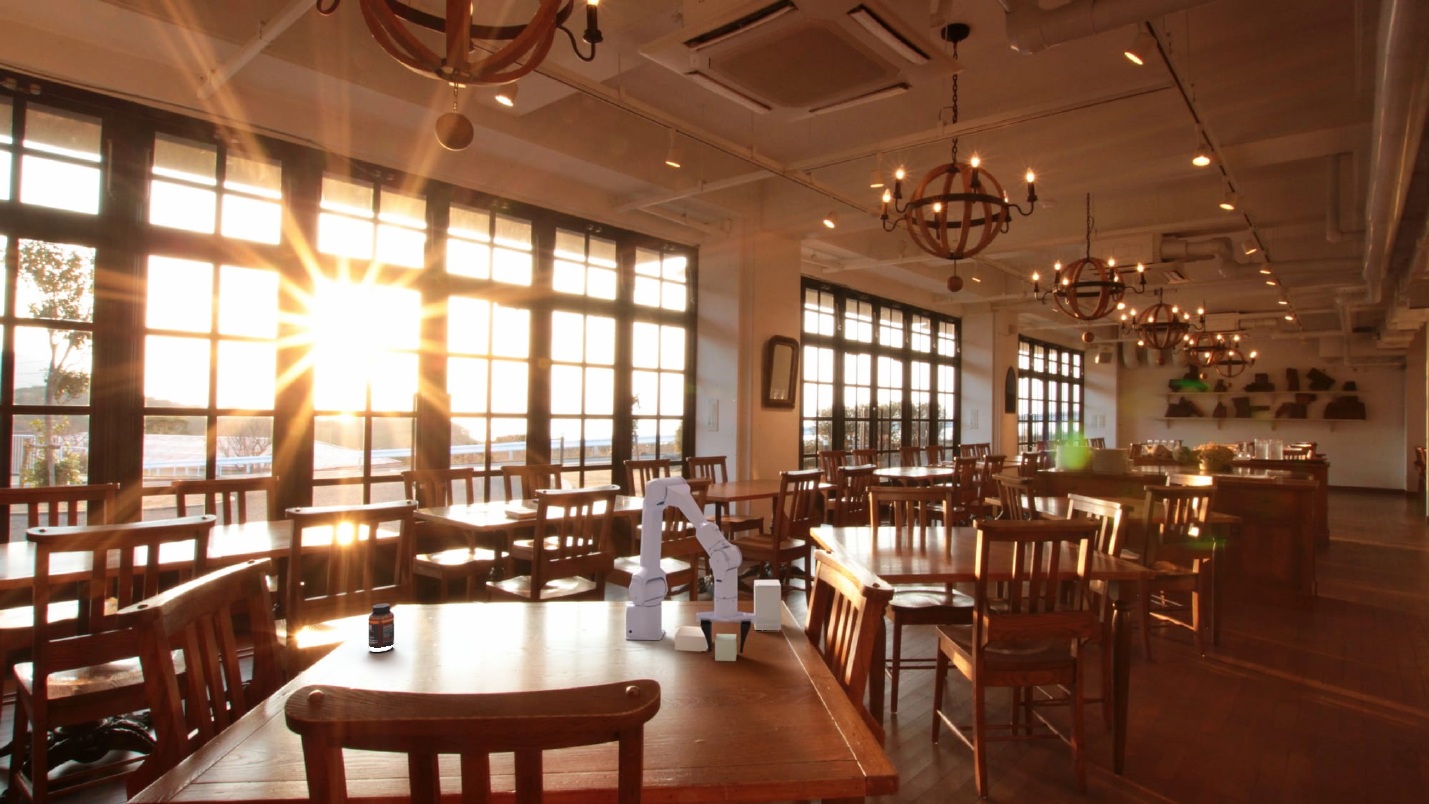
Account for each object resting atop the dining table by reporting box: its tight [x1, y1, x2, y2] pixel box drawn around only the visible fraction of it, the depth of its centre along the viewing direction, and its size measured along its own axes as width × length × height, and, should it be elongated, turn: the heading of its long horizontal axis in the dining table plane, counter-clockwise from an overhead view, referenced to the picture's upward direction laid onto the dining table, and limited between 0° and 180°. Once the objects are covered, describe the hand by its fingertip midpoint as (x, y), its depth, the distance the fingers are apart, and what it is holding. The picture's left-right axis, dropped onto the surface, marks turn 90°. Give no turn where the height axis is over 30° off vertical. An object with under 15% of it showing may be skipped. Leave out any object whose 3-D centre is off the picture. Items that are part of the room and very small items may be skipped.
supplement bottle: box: [368, 603, 395, 648], centre depth 182 cm, size 6×6×11 cm
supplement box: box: [753, 579, 782, 632], centre depth 200 cm, size 7×7×13 cm
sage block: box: [714, 633, 738, 662], centre depth 176 cm, size 5×5×5 cm
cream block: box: [674, 625, 708, 652], centre depth 185 cm, size 8×8×4 cm
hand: (726, 651), depth 176 cm, fingers open, 7 cm apart
